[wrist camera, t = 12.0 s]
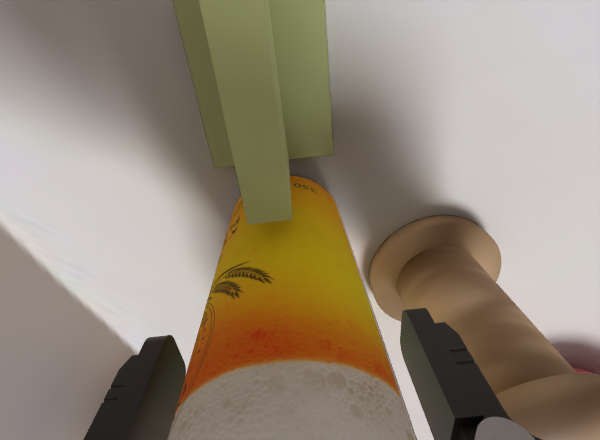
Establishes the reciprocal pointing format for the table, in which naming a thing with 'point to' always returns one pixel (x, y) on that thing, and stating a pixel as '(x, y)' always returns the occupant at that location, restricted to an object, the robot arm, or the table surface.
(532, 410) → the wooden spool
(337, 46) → the table surface
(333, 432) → the beer can
